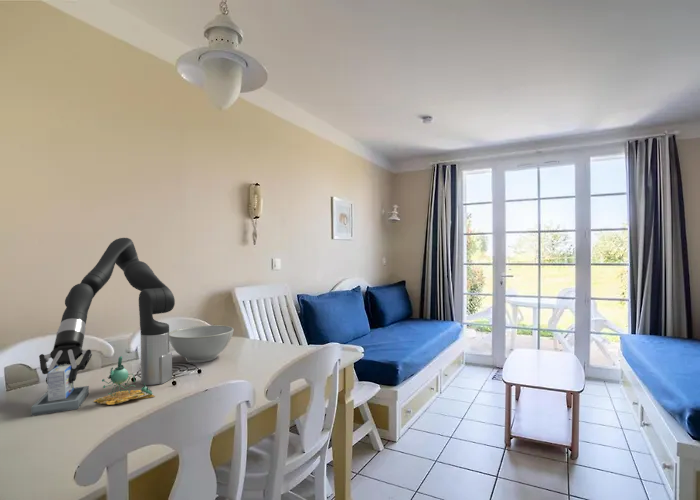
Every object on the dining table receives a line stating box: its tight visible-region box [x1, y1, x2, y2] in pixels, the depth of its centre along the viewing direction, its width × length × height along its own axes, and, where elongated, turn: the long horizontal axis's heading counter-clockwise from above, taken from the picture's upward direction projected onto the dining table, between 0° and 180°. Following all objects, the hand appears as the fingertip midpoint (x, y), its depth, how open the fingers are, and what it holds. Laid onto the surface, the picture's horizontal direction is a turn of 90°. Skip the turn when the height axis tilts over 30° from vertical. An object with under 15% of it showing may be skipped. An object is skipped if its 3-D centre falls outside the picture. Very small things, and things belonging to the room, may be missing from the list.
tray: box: [31, 385, 90, 417], centre depth 116 cm, size 11×14×2 cm
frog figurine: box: [93, 356, 156, 406], centre depth 118 cm, size 10×18×15 cm, turn 91°
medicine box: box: [46, 364, 75, 401], centre depth 116 cm, size 8×4×9 cm, turn 21°
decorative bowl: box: [169, 324, 234, 363], centre depth 166 cm, size 27×27×12 cm
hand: (60, 383), depth 115 cm, fingers closed on medicine box, 4 cm apart
